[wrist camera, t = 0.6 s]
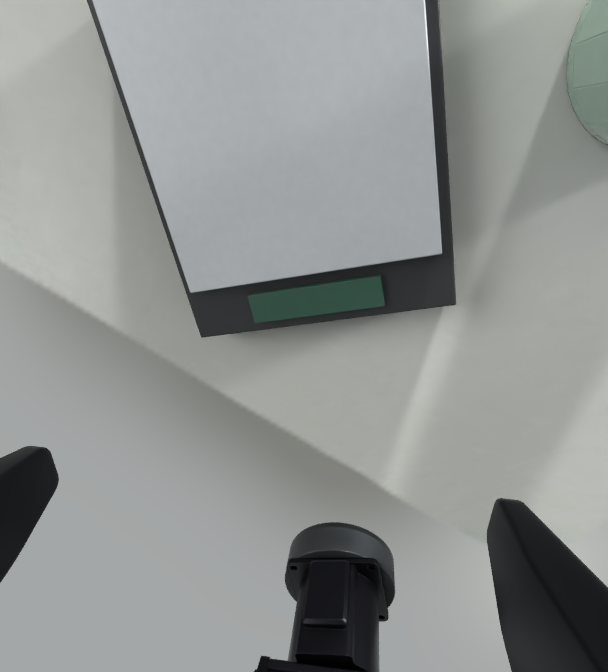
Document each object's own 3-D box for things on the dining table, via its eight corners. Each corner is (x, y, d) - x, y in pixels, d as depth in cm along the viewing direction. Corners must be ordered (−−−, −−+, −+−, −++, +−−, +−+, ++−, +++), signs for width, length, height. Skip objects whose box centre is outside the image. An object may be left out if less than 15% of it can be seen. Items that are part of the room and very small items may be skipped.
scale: (449, 290, 20) (458, 310, 18) (213, 322, 22) (196, 343, 20) (424, -104, 14) (434, -145, 12) (110, 2, 17) (71, -17, 14)
